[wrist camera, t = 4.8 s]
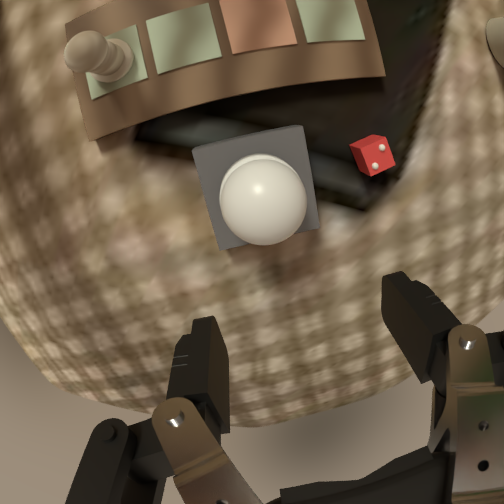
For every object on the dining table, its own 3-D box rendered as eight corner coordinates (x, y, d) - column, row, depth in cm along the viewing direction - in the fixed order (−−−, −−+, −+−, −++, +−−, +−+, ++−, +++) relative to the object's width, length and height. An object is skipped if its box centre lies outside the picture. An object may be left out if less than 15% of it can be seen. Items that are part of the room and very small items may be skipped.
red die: (359, 170, 30) (372, 177, 27) (349, 145, 29) (361, 149, 26) (382, 159, 30) (397, 165, 27) (372, 134, 29) (387, 137, 26)
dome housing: (220, 238, 33) (219, 250, 30) (195, 147, 28) (191, 150, 26) (312, 218, 32) (319, 228, 30) (295, 124, 28) (302, 126, 25)
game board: (95, 140, 27) (88, 141, 26) (71, 27, 21) (64, 24, 20) (379, 77, 26) (386, 75, 24) (347, -34, 20) (352, -40, 18)
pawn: (96, 89, 23) (56, 85, 16) (89, 51, 22) (48, 38, 14) (138, 72, 23) (106, 61, 16) (129, 34, 21) (97, 12, 14)
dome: (231, 235, 29) (231, 270, 23) (211, 163, 26) (205, 179, 20) (304, 219, 29) (323, 249, 22) (290, 145, 26) (309, 156, 19)
